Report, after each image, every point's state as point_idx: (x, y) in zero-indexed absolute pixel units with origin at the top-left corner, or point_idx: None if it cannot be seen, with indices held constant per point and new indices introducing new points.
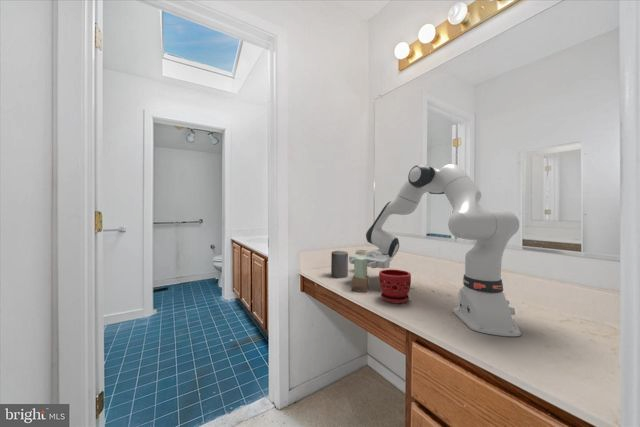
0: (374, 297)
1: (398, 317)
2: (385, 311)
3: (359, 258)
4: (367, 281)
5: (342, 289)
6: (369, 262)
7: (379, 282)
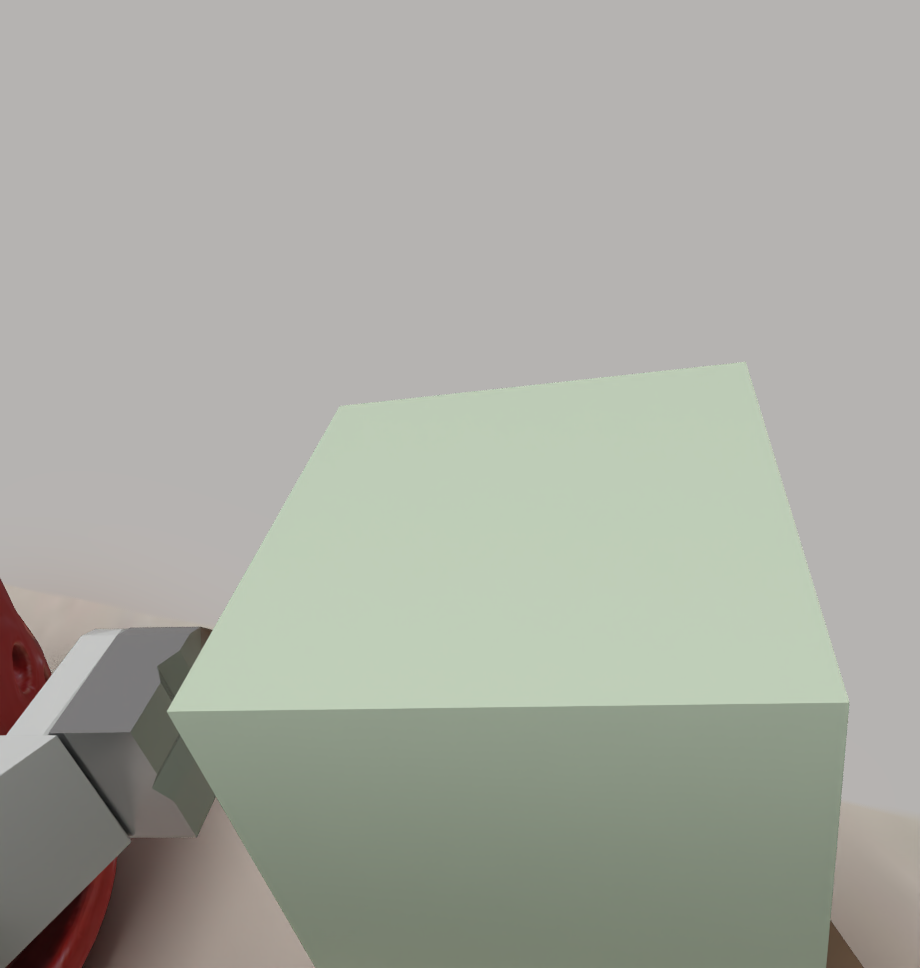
0: (239, 859)
1: (7, 590)
2: (103, 610)
3: (542, 457)
4: None
5: (913, 856)
6: (110, 728)
7: (42, 677)
